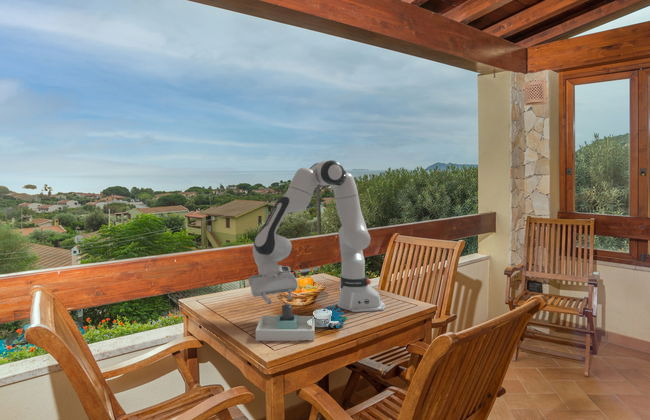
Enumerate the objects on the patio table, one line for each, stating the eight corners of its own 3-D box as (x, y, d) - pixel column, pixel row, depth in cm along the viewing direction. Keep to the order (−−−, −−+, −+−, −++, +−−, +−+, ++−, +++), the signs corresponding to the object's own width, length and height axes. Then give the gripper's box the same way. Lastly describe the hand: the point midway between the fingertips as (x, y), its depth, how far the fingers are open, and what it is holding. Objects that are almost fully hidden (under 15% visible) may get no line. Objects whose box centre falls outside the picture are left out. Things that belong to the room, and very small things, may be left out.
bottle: (292, 325, 167) (292, 301, 166) (291, 329, 163) (291, 305, 162) (282, 326, 166) (282, 301, 166) (281, 329, 162) (281, 305, 162)
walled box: (314, 325, 170) (314, 313, 170) (314, 340, 154) (314, 327, 154) (261, 325, 170) (261, 313, 169) (255, 340, 154) (255, 327, 153)
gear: (320, 325, 165) (322, 303, 172) (318, 331, 170) (320, 309, 176) (347, 329, 166) (348, 307, 172) (344, 335, 170) (346, 313, 177)
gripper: (249, 272, 170) (258, 301, 162) (293, 266, 181) (303, 294, 173) (245, 280, 174) (254, 309, 166) (288, 274, 185) (298, 301, 177)
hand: (279, 301), depth 170 cm, fingers open, 8 cm apart
